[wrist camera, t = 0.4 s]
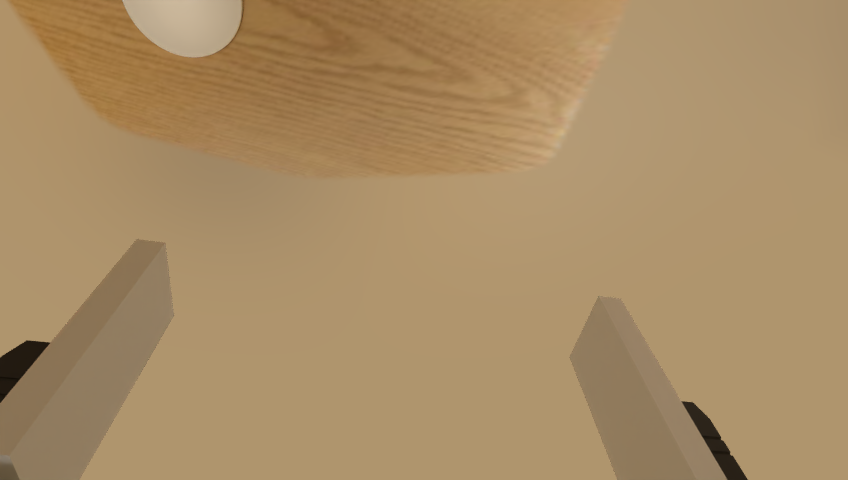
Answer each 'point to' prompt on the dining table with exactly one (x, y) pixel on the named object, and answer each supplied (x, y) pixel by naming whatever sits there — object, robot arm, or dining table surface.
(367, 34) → the dining table surface
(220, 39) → the coaster
